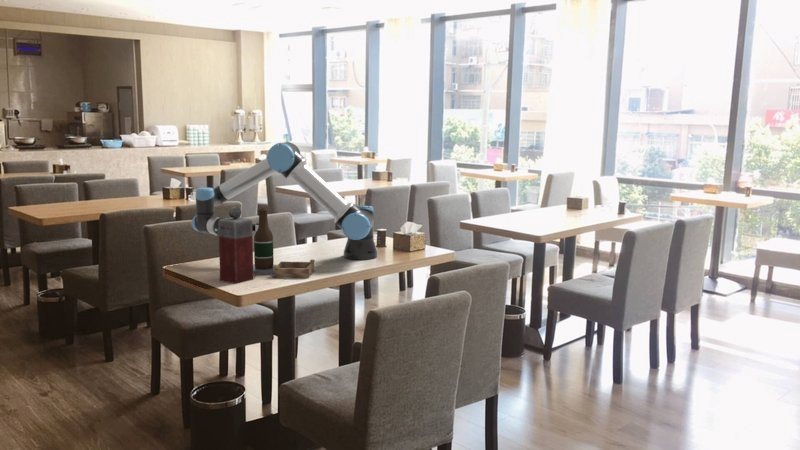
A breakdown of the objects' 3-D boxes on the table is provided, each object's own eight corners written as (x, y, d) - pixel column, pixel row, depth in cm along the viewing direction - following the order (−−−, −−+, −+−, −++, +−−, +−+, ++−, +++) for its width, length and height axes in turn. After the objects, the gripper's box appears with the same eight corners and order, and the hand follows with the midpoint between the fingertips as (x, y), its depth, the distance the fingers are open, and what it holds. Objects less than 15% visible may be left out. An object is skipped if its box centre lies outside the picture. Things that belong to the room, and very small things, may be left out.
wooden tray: (314, 270, 277) (314, 259, 276) (309, 278, 263) (309, 266, 263) (280, 269, 277) (280, 259, 277) (273, 277, 264) (273, 266, 263)
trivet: (282, 268, 281) (282, 264, 280) (276, 274, 269) (276, 271, 268) (253, 267, 281) (253, 264, 281) (245, 274, 269) (245, 270, 269)
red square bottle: (233, 275, 267) (231, 204, 263) (253, 279, 261) (252, 206, 257) (215, 279, 260) (213, 206, 255) (236, 283, 253) (234, 208, 249)
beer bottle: (277, 266, 277) (276, 207, 273) (267, 270, 270) (266, 210, 266) (260, 264, 279) (259, 206, 276) (250, 268, 272) (249, 209, 268)
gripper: (243, 231, 298) (277, 237, 286) (195, 239, 279) (229, 245, 266) (243, 214, 297) (276, 219, 285) (195, 220, 278) (228, 226, 265)
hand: (253, 231), depth 275 cm, fingers open, 13 cm apart
